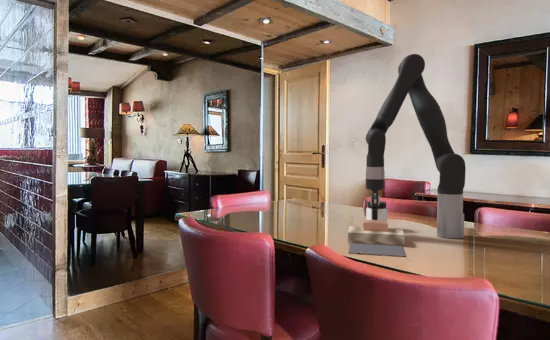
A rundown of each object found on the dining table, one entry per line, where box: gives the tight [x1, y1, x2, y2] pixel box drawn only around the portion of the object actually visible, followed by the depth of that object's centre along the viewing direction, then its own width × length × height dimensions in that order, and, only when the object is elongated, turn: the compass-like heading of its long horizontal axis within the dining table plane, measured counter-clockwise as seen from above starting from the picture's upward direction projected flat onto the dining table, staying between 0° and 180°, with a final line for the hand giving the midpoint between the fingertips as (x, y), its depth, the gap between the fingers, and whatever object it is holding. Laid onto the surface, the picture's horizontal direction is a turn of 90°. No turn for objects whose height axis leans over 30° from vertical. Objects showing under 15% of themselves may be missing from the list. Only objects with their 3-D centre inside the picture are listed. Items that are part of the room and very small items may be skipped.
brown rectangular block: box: [362, 219, 389, 232], centre depth 138 cm, size 9×6×3 cm, turn 75°
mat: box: [348, 243, 407, 258], centre depth 124 cm, size 18×14×1 cm
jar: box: [365, 200, 388, 222], centre depth 159 cm, size 9×8×12 cm
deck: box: [347, 225, 406, 247], centre depth 136 cm, size 20×12×4 cm, turn 75°
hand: (374, 219), depth 148 cm, fingers closed
